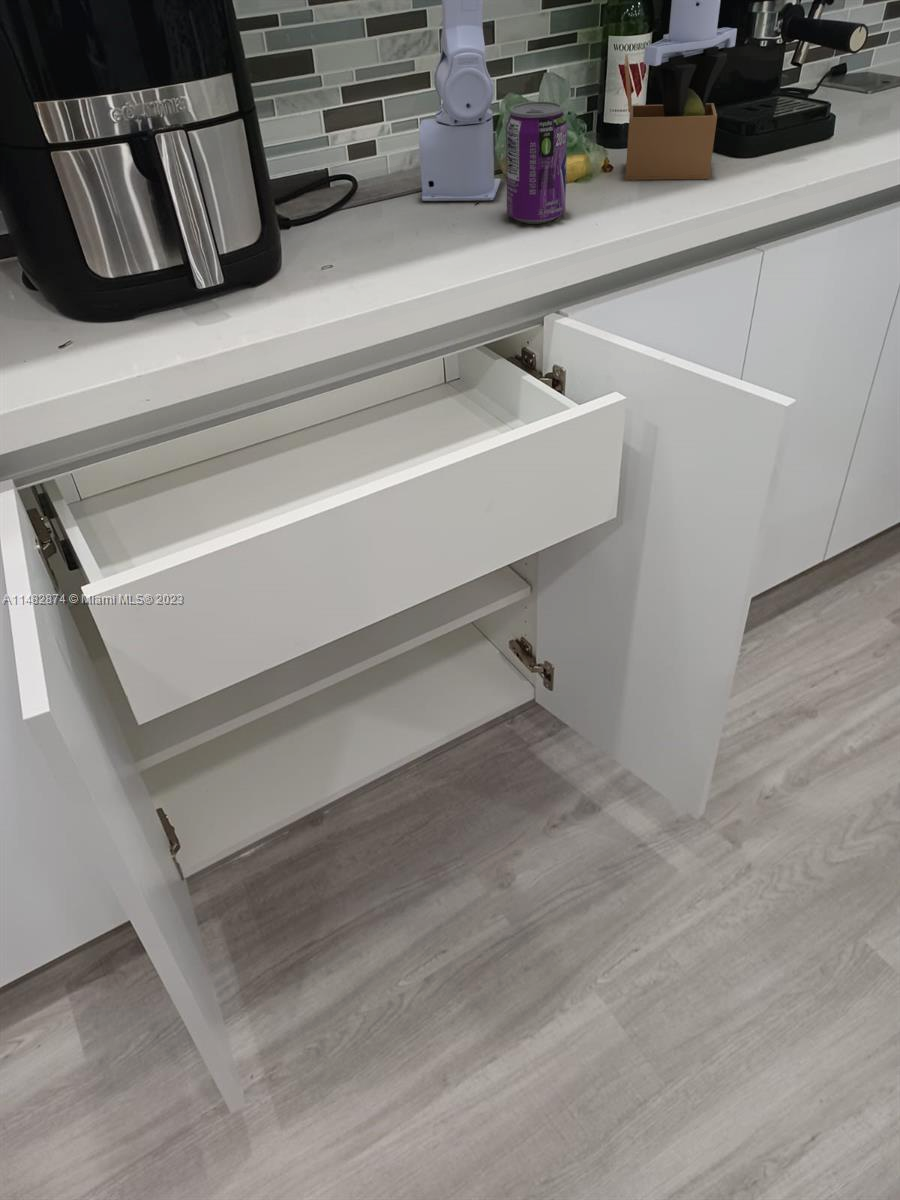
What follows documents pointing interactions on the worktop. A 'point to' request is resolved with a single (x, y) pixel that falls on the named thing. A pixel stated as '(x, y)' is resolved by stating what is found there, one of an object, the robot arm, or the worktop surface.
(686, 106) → the lime
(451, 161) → the robot arm
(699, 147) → the carton
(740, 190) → the worktop surface
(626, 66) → the flap
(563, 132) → the beverage can
